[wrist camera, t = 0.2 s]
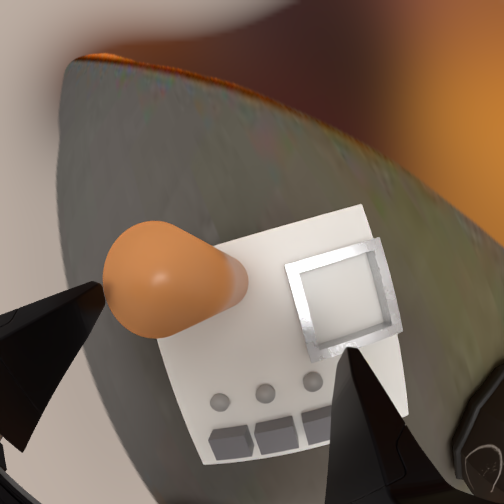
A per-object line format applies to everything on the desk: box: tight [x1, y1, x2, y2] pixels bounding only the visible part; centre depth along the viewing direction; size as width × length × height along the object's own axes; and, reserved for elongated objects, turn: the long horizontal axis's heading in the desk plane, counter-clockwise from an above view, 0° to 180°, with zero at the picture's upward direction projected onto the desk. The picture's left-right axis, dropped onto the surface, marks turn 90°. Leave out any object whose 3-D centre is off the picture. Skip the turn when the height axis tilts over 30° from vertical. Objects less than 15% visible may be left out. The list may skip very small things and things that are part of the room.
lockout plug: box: [103, 221, 248, 339], centre depth 16 cm, size 4×4×13 cm
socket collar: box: [285, 237, 403, 363], centre depth 21 cm, size 8×8×2 cm
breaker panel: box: [157, 204, 409, 465], centre depth 21 cm, size 20×20×3 cm
